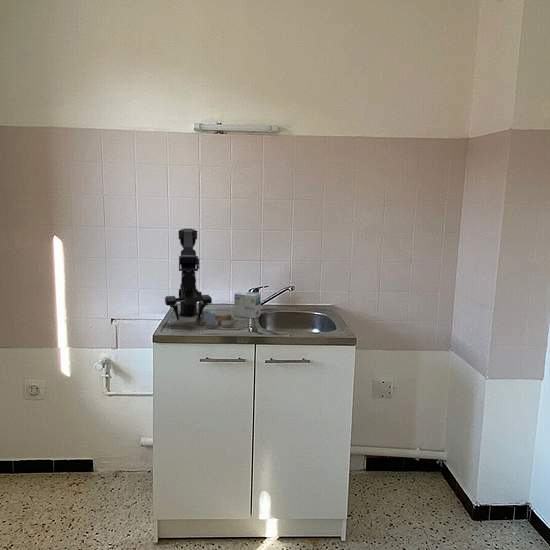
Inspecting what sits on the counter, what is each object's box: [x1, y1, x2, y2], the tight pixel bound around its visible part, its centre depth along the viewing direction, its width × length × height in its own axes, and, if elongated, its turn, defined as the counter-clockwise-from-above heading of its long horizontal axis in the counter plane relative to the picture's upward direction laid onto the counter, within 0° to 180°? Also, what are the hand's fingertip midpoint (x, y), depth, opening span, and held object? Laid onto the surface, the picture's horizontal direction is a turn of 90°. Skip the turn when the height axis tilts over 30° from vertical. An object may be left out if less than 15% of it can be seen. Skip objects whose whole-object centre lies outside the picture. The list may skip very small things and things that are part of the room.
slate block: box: [200, 310, 216, 326], centre depth 206 cm, size 5×5×5 cm
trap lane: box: [195, 314, 238, 330], centre depth 206 cm, size 16×14×2 cm
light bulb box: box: [233, 290, 262, 319], centre depth 220 cm, size 11×7×11 cm, turn 71°
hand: (188, 320), depth 203 cm, fingers open, 8 cm apart
